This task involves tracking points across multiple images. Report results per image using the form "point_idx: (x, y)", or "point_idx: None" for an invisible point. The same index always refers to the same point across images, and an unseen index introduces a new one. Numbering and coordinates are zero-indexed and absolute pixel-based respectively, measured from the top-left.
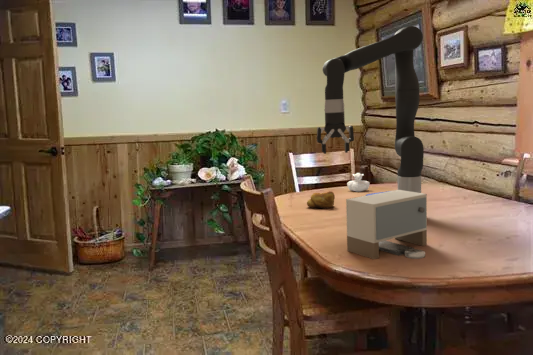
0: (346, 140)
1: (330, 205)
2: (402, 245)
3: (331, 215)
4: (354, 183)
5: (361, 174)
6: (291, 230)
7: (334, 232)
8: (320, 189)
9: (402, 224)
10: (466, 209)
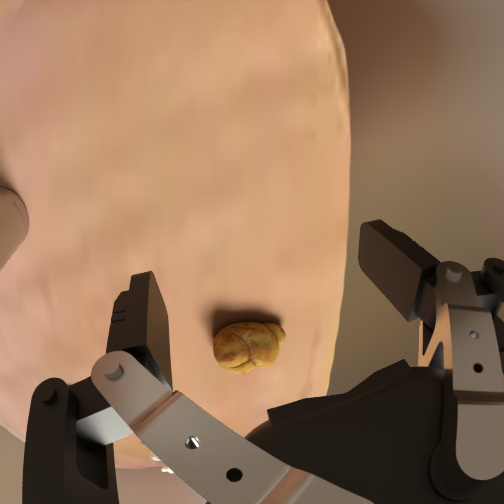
0: (133, 379)
1: (222, 330)
2: None
3: (218, 244)
4: None
5: (165, 469)
6: (339, 69)
7: (216, 26)
8: None
9: None
10: None
